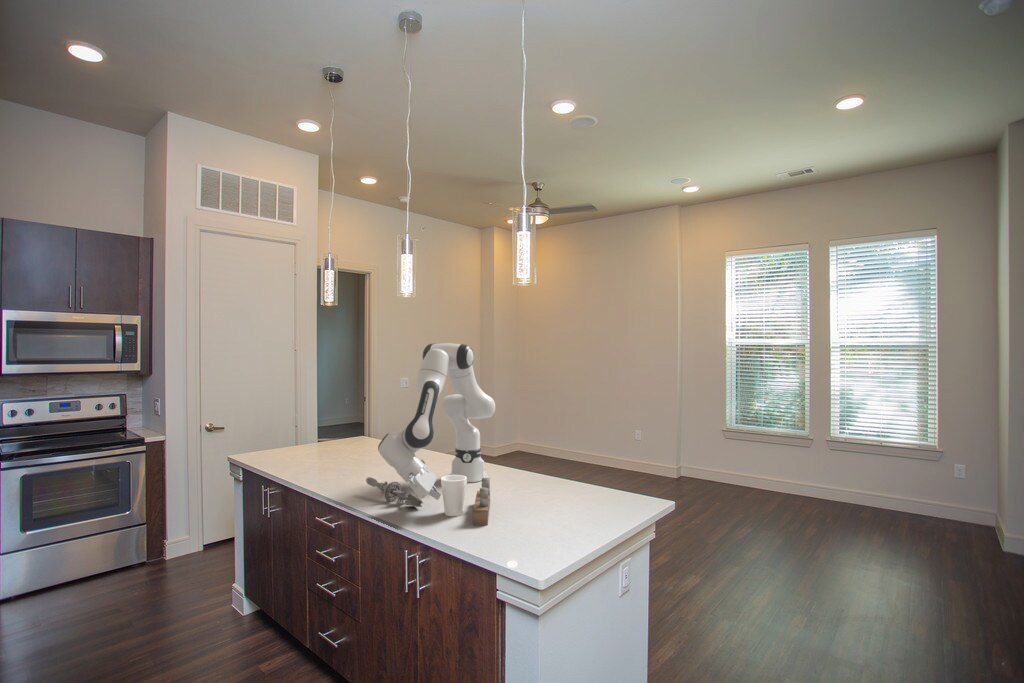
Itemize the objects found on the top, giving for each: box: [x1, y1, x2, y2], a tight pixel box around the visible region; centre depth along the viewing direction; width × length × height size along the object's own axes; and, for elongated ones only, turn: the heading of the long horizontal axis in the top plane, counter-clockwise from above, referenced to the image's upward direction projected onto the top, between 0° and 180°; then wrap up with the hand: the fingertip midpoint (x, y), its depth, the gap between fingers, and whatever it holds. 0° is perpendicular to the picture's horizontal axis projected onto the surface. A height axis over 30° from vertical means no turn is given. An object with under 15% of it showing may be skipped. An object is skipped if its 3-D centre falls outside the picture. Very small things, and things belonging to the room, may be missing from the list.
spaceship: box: [365, 477, 424, 508], centre depth 202 cm, size 8×35×8 cm
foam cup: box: [440, 474, 468, 517], centre depth 187 cm, size 10×9×13 cm
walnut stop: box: [472, 477, 491, 526], centre depth 187 cm, size 24×5×11 cm, turn 1°
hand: (439, 497), depth 186 cm, fingers closed, pressing on foam cup
